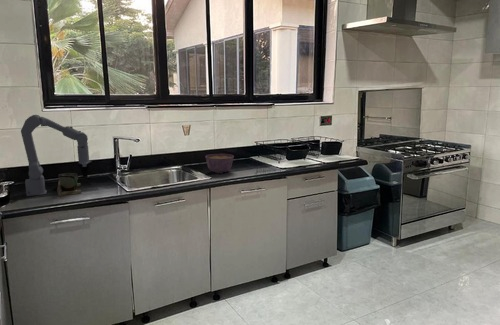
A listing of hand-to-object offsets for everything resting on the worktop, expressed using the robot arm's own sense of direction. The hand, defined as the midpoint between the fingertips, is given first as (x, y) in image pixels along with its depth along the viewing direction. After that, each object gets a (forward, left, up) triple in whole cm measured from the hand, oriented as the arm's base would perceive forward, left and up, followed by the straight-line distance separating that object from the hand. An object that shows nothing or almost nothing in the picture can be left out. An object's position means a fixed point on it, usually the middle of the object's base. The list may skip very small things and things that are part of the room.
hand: (85, 176), depth 219 cm
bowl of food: (+87, +8, -8) cm, 88 cm away
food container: (-8, 0, -8) cm, 11 cm away
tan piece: (-9, 0, -8) cm, 12 cm away
